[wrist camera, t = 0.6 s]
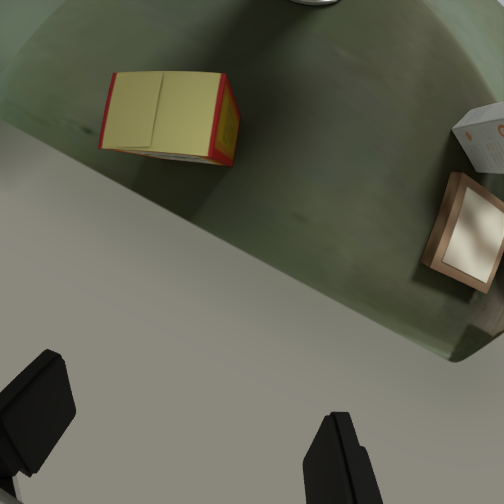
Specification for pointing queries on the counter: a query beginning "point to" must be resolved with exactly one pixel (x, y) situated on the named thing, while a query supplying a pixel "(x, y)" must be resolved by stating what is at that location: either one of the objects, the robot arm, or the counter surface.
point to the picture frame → (467, 234)
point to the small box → (483, 137)
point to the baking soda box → (171, 116)
